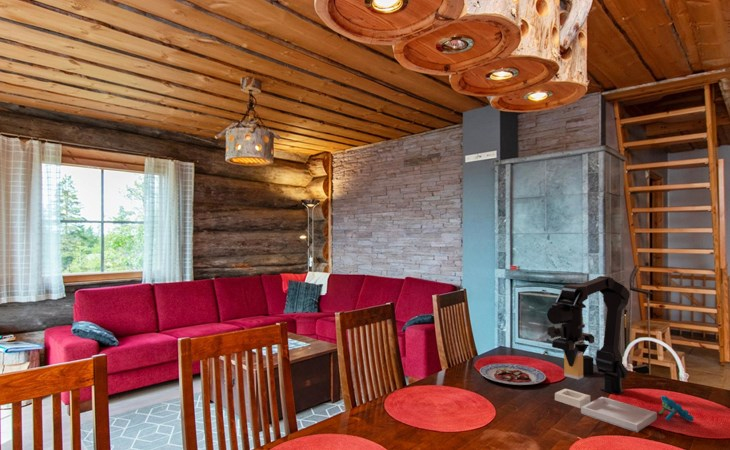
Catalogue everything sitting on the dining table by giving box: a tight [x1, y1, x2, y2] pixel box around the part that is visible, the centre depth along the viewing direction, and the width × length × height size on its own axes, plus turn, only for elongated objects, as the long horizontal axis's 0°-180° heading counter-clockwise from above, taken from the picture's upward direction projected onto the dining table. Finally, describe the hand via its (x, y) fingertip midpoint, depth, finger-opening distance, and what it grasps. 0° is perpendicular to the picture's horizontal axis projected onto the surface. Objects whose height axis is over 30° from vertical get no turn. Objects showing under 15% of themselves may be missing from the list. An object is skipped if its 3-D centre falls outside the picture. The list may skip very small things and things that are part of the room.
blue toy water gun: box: [658, 395, 695, 423], centre depth 142 cm, size 11×6×10 cm
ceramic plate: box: [479, 363, 547, 386], centre depth 182 cm, size 26×26×3 cm
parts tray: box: [580, 396, 658, 433], centre depth 144 cm, size 15×17×2 cm
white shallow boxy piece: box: [554, 388, 591, 409], centre depth 157 cm, size 8×9×2 cm
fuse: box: [563, 351, 584, 380], centre depth 156 cm, size 4×5×9 cm
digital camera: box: [583, 354, 594, 376], centre depth 188 cm, size 10×5×7 cm, turn 94°
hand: (573, 365), depth 156 cm, fingers closed on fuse, 3 cm apart
